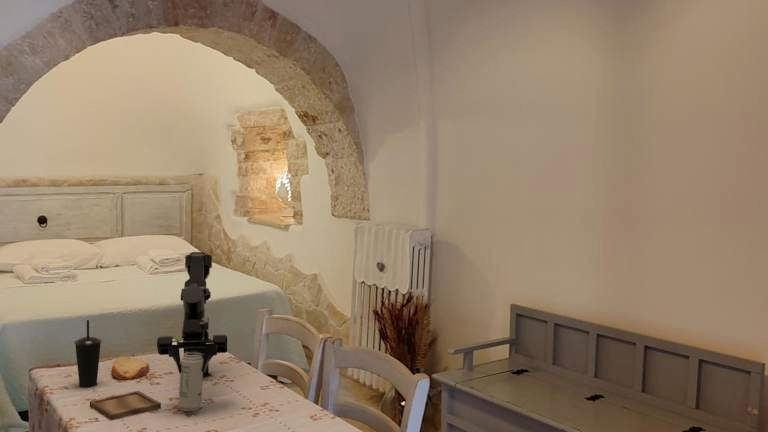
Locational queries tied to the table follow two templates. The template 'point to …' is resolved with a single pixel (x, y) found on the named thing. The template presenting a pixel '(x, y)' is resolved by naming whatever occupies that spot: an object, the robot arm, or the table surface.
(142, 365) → the bread slice
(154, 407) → the tray
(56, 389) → the table surface
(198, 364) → the energy drink can
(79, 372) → the drinking cup
